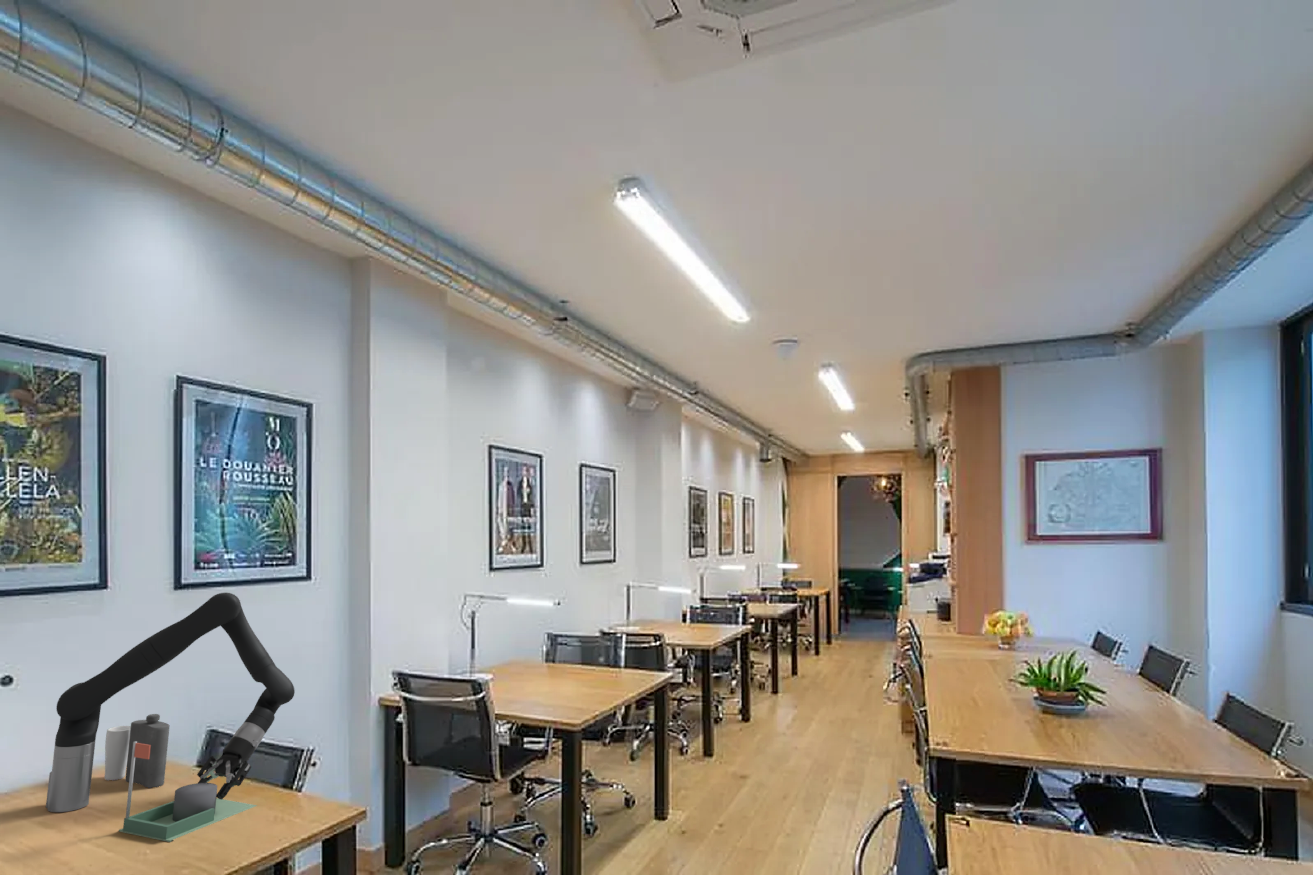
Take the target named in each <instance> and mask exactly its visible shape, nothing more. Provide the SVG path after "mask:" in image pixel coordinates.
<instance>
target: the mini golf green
mask: <svg viewBox="0 0 1313 875" xmlns="http://www.w3.org/2000/svg"><path fill="white" fill-rule="evenodd" d="M150 747H151V745H147V744H141V743H137V741H135V742H133V750H132V760H131V769H130V779H129V782H128V790H127V801H126V808H125V809H126V812H125V817H124V818H123V827H122V828H120V829H118V832H120V833H123V834H124V833H125V834H129V835H133V836H138V837H145V838H147V839H154V840H158V841H164V842H168V843H172V842H174V840H176V839H178V838H180V837H183V836H186V835H188V834H190V833H193V832H195V831H198V830H200V829H203V828H206V827H208V826H210V825H212V824H215V823H217V822H221V821H222V820H225V819H228V818H230V817H233V816H235V815H237V814H240V813H243V812H245V811H247V810H249V809H252V808H255V807H258V805H257V804H252V803H251V804H250V803H246V802H240V801H234V800H229V799H224V798H223V799H222V800H221V799H218V798H217V797H216V808H215V809H214V808H211V809H209V810H206V811H203V812H201V813H198V814H195V815H193V816H190V817H188V818H185V819H182V820H180V821H177V822H175V821H173V819H172V818H173V808H174V800H172V801H170V802H167V803H164V804H161V805H158V806H155V807H153V808H149V809H148V810H144V811H141V812H138V813H136V814H133V815H131V814H130V813H131V803H132V795H133V784H134V783H133V776H134V766H135V757H137V758H143V759H149V757H150ZM214 812H215V814H214Z"/></svg>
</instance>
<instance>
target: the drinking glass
mask: <svg viewBox="0 0 1313 875" xmlns="http://www.w3.org/2000/svg"><path fill="white" fill-rule="evenodd" d="M130 729H131V725H118V726H113V727H110V728H108V729H106V734H105V740H104V741H105V743H104V744H105V745H104V750H105V751H104V752H105V754H104V758H105V760H104V776H103V777H104V780H105V781H109V780H112V781H118V779H119V780H122V779H124V778H126V768H127V758H128V749H129V739H130Z"/></svg>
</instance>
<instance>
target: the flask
mask: <svg viewBox="0 0 1313 875" xmlns="http://www.w3.org/2000/svg"><path fill="white" fill-rule="evenodd" d="M160 718H161V715H160V714H159V713H151V714H148V715H147V716H146V719H138V720H134V721H132V722H131V723H130V726H131V729H130V739H129V749H128V758H127V766H126V773H125V777H124V779H125V782H126V783H129V779H130V769H131V760H132V750H133V742H135V741H137V743H141V744H147V745H151V747H150V757H149V759H143V758H137V757H135V766H134V776H133V784H136V783H137V785H139V786H140V785H141V786H143V787H145V788H146V787H148V788H147V789H153V788H152V787H156V788H160V787H162V786H163V785H164V784H165V779H166V778H165V776H166V769H167V768H166V766H167V757H168V756H167V755H168V748H169V747H168V746H169V745H168V744H169V735H170V724H168V722H163V721H160ZM159 786H160V787H159Z"/></svg>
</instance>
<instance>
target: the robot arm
mask: <svg viewBox="0 0 1313 875" xmlns="http://www.w3.org/2000/svg"><path fill="white" fill-rule="evenodd" d="M243 610H244V609H243V607H242V604H241V600H240V599H239V597H238V596H237V595H235V594H233V593H231V592H220V593H217V594H214V595H212V597H210V598H208V599H207V600H206V601H205V602H204V603H203V604H202V605H200V606H199V607H198V608H196V609H195V610H193V611H192V612H191V613H189V615H187V616H186V617H184V618H183V619H182V618H181V619H180V620H178V621H177V622H175V623H172V624H171V625H169V626H167V627H165V628H163V629H161V630H159V631H158V632H156V633H154V634H152V635H151V636H149V637H147V638H146V639H144V640H143V641H140V642H139V643H138V644H137V645H135V646H134V647H132V648H131V649H129V650H128V651H127V652H126V653H124V654H123V655H121V656H120V657H119V658H118V659H117V660H115V661H114V662H113V663H112V664H110V666H108V667H107V668H105V669H104V670H103V671H101V672H100V673H98V674H96V675H94V676H93V677H91V678H89V679H88V680H85V681H84V682H78V683H75V684H73V685H72V686H70V687H69V688H68V689H67V690H65V691H64V692H63V693H62V694H61V695H60V696H59V698H58V700H57V702H56V713H57V715H58V716H59V717H60V719H59V725H58V729H57V732H56V734H55V740H54V749H53V750H54V751H53V759H52V766H51V767H52V768H51V771H50V772H49V775H48V776H49V777H48V783H47V792H46V802H45V809H47V811H48V812H51V813H66V812H71V811H76V810H79V809H83V808H85V807H87V806H88V805H89V803H90V793H91V785H92V778H93V777H92V775H93V767H94V766H93V765H94V757H95V749H96V748H95V747H96V738H97V733H98V729H99V726H100V725H99V724H100V716H101V710H102V705H103V704H104V703H106V702H107V701H108V700H109V699H111V698H112V697H114V695H116V694H118V693H119V692H121V691H122V690H124V689H126V688H128V687H129V686H131V685H134V684H135V683H137V682H139V681H140V680H142V679H144V678H146V677H147V676H149V675H151V674H152V673H154V672H155V671H157V670H159V669H160V668H162V667H164V666H165V665H167V664H168V663H170V662H172V661H173V660H174V659H175V658H177V657H178V656H179V655H180V654H182V653H183V652H184V651H185V650H186V649H188V648H189V647H190V646H191V645H193V644H194V642H196V641H197V640H199V638H201V637H203V636H205V635H206V634H209V633H210V632H212V631H213V630H215V629H217V628H219V627H220V628H222V629H223V631H224V632H225V633H226V634H227V636H229V638H230V640H231V642H232V643H233V645H234V647H235V649H236V651H237V653H238V656H239V658H240V660H241V661H242V664H243V665H244V667H245V668H246V670H247V672H248V673H249V675H250V676H251V678H252V679H253V681H254V682H256V683H261V684H263V686H264V687H265V689H264V690H263V691H262V693H261V694H260V696H259V697H258V700H257V701H256V703H255V704H254V707H253V709H252V711H251V712H250V713H249V715H248V716H247V717H246V718H245V720H244V722H243V723H242V724H241V725H240V726H239V727H238V729H237V730H236V731H235V732H234V734H233V735H232V737H231V738H230V740H229V741H228V742H227V744H226V745H225V747H224V748H223V750H222V755H221V756H220V757H219V758H216V757H215V756H213V755H212V756H210V757H209V758H208V759H207V760H206V762H205V763H204V765H202V767H201V769H200V770H199V771H198V772H197V774H196V776H197V777H198V778H200V779H199V781H197V783H210V781H212V780H213V779H214V780H215V779H217V778H219V777H220V778H222V777H225V778H226V779H225V782H224V783H223V784H222V786H221V788H220V789H219V790H218V791H217V795H216V798H218V799H221V800H222V799H224V798H225V797H226V796H227V795H228V793H229V792H230V790H231V788H234V787H235V786H237V787H240V786H241V785H242V783H243V781H245V778H246V776H247V775H248V774H249V772H250V770H251V769H252V766H251V765H250V763H248V761H249V760H250V758H251V757H252V755H253V754H254V753H255V751H256V749H257V748H258V746H259V745H260V744H261V742H262V740H263V738H264V736H265V734H266V733H267V732H268V731H269V729H270V727H271V726H272V725H273V723H274V721H275V719H276V718H275V715H276V713H277V711H278V710H279V708H280V707H281V706H282V705H285V704H288V703H289V702H290V701H292V699H293V698H294V697H295V691H296V689H295V686H294V684H293V682H292V680H290V678H289V677H288V676H287V675H286V674H285V673H284V672H283V671H282V670H281V669H280V668H279V667H277V665H276V663H275V662H274V661H273V658H272V657H271V656H270V654H269V653H268V651H267V649H266V648H265V647H264V645H263V644H262V642H261V641H260V639H259V638H258V637H257V634H256V633H255V632H254V630H253V629H252V627H251V626H250V623H249V622H248V619H247V617H246V615H245V612H244V611H243Z"/></svg>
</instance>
